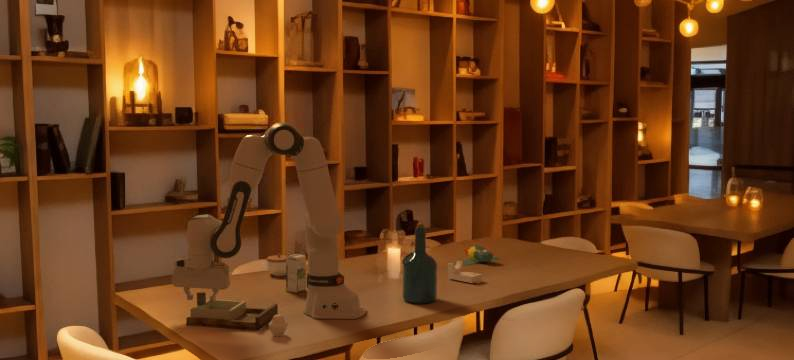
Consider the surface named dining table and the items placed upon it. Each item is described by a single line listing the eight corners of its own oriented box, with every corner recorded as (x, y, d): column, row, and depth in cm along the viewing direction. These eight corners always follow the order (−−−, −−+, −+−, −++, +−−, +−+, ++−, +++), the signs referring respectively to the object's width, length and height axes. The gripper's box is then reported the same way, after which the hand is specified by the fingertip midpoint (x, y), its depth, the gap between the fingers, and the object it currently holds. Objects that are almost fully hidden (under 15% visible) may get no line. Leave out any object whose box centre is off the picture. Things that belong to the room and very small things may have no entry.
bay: (277, 316, 258) (277, 303, 257) (258, 330, 241) (258, 317, 240) (209, 311, 263) (209, 299, 262) (186, 325, 246) (186, 312, 245)
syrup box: (294, 288, 298) (294, 253, 297) (306, 290, 295) (306, 255, 294) (285, 291, 293) (285, 255, 292) (297, 293, 290) (297, 257, 289)
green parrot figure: (487, 240, 367) (510, 245, 356) (486, 257, 368) (509, 262, 357) (446, 246, 350) (469, 251, 338) (446, 263, 351) (468, 269, 339)
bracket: (447, 280, 316) (447, 263, 315) (457, 277, 321) (457, 260, 321) (471, 285, 307) (472, 267, 307) (481, 282, 313) (482, 265, 312)
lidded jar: (287, 277, 317) (287, 256, 316) (263, 276, 319) (263, 255, 318) (294, 272, 327) (294, 252, 327) (271, 271, 329) (271, 251, 328)
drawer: (245, 312, 258) (245, 290, 257) (229, 323, 244) (228, 300, 244) (206, 309, 261) (206, 287, 260) (188, 320, 247) (187, 297, 247)
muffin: (291, 335, 236) (291, 314, 235) (276, 339, 231) (276, 318, 231) (279, 331, 240) (279, 310, 239) (264, 335, 236) (264, 314, 235)
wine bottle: (428, 294, 290) (429, 220, 287) (442, 303, 277) (443, 225, 275) (396, 297, 285) (397, 221, 282) (409, 306, 273) (409, 226, 270)
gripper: (232, 261, 253) (233, 299, 254) (178, 258, 257) (179, 296, 258) (224, 264, 247) (225, 304, 248) (169, 261, 251) (170, 300, 252)
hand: (201, 300), depth 253 cm, fingers open, 7 cm apart
